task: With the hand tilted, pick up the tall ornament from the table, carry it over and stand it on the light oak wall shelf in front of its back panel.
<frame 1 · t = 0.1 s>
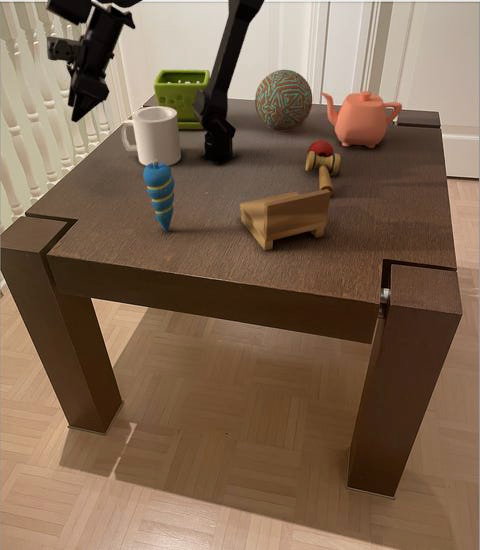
hand: (71, 113, 93), 15 cm above the table, tool tilted 35°, fingers open, 9 cm apart
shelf: (281, 227, 87), on the table
kendama: (322, 179, 102), on the table
mug: (155, 157, 111), on the table
teapot: (354, 140, 118), on the table
decorative sphere: (282, 129, 124), on the table
ornament: (165, 231, 87), on the table
flower pot: (186, 124, 128), on the table
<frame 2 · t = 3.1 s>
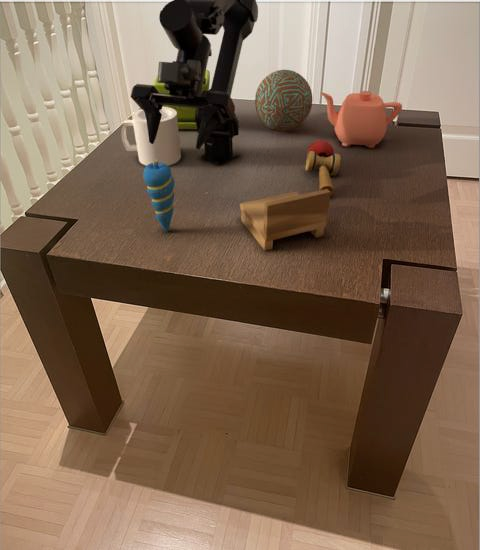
hand: (174, 145, 84), 14 cm above the table, tool tilted 45°, fingers open, 9 cm apart
nothing on the table moved.
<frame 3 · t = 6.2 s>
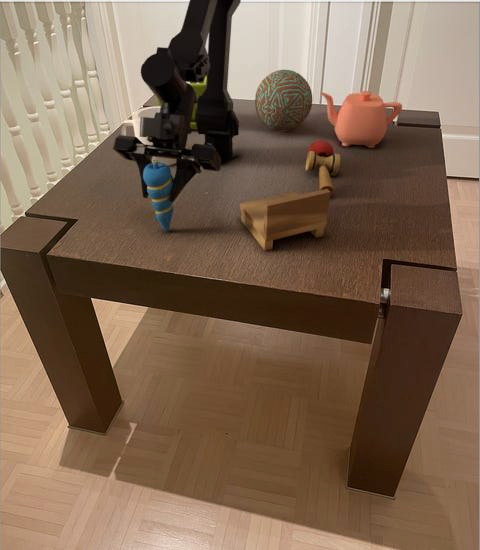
hand: (158, 199, 81), 8 cm above the table, tool tilted 45°, fingers closed on ornament, 5 cm apart
ornament: (166, 231, 87), on the table, touching gripper
everything else where it was.
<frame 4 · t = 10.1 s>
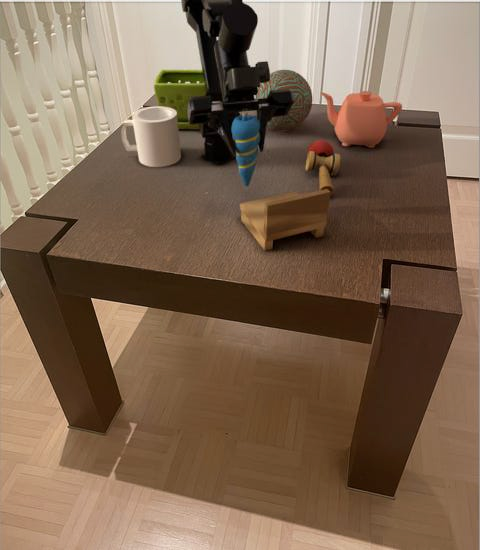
hand: (248, 152, 82), 13 cm above the table, tool tilted 45°, fingers closed on ornament, 5 cm apart
ornament: (246, 187, 88), point 6 cm above the table, touching gripper
everything else where it was.
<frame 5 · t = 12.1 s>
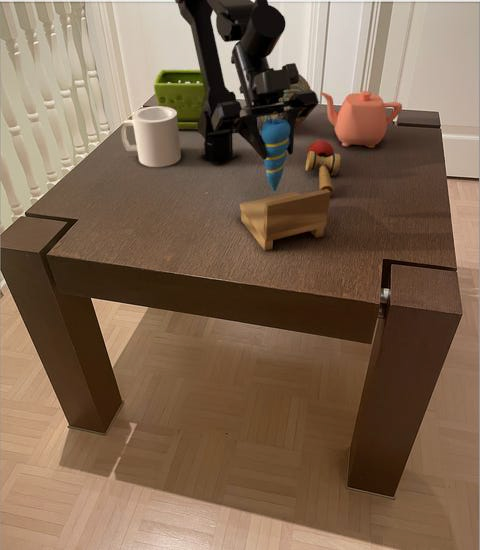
hand: (278, 156, 80), 13 cm above the table, tool tilted 45°, fingers closed on ornament, 5 cm apart
ornament: (273, 191, 86), point 6 cm above the table, touching gripper
everything else where it was.
when the fingers open (11 cm above the table, at t = 14.0 s): ornament stays where it is, resting on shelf.
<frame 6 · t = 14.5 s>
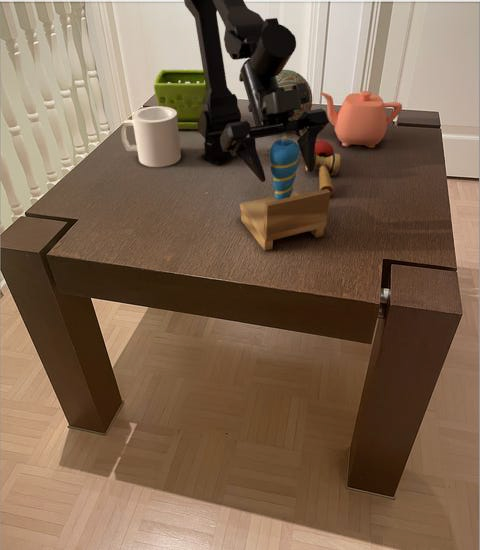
hand: (288, 176, 79), 11 cm above the table, tool tilted 45°, fingers open, 9 cm apart
ornament: (281, 212, 85), point 3 cm above the table, touching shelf
everything else where it was.
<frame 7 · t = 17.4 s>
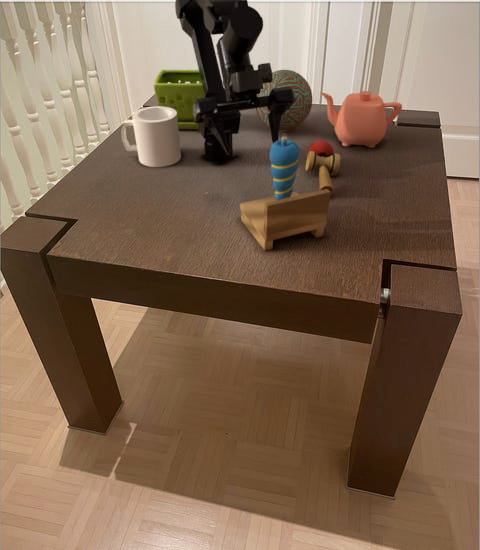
hand: (252, 150, 85), 12 cm above the table, tool tilted 40°, fingers open, 9 cm apart
nothing on the table moved.
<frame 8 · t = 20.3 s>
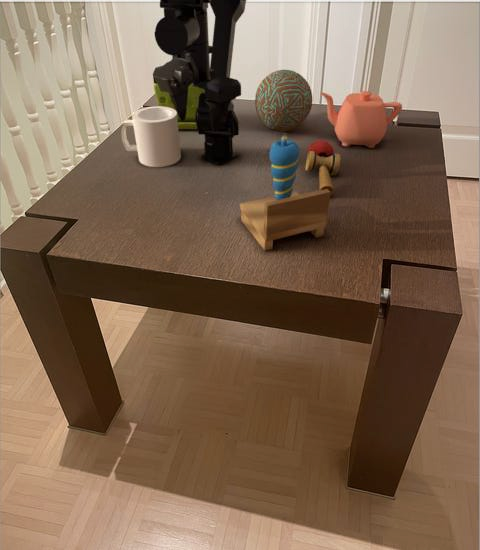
hand: (198, 125, 93), 13 cm above the table, tool pointing down, fingers open, 9 cm apart
nothing on the table moved.
at the end: ornament inside the target area on the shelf (0.2 cm from its centre), point 3.3 cm above the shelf's base; ornament tilted 0° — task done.
